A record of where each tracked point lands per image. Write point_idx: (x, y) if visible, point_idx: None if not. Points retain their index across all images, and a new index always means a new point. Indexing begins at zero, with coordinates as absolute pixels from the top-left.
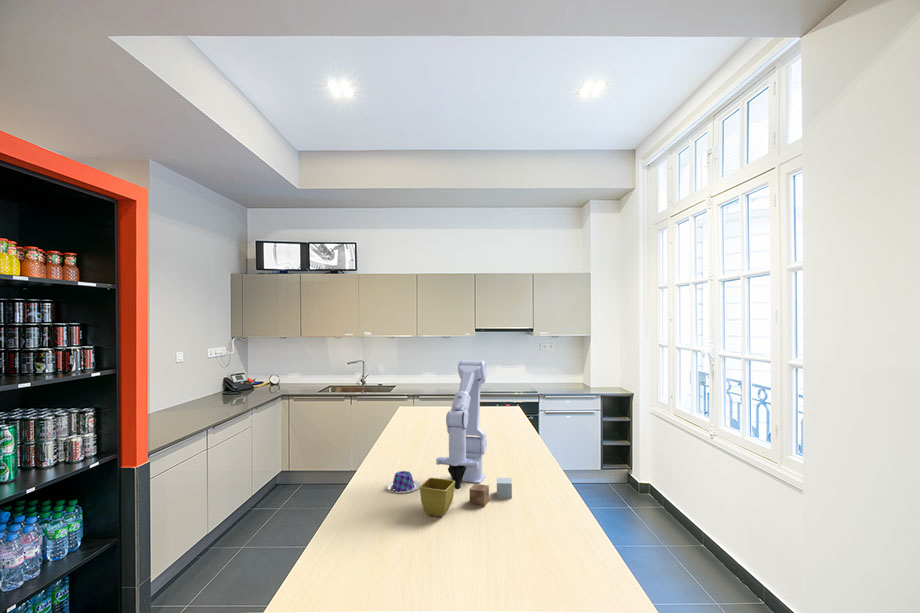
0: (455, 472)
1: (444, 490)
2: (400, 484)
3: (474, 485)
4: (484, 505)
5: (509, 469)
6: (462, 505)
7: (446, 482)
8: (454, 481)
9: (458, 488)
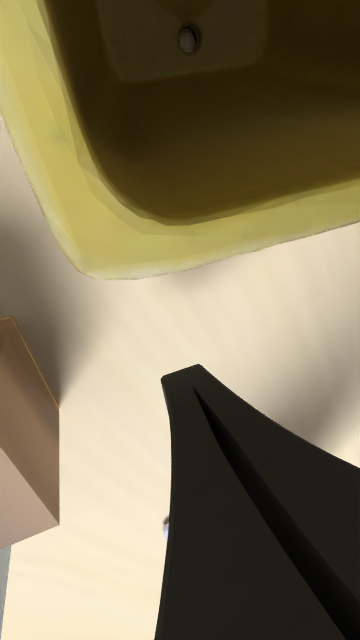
0: (302, 560)
1: None
2: None
3: (23, 509)
4: None
5: (128, 634)
6: (62, 278)
7: (338, 161)
8: (57, 201)
9: (162, 382)
